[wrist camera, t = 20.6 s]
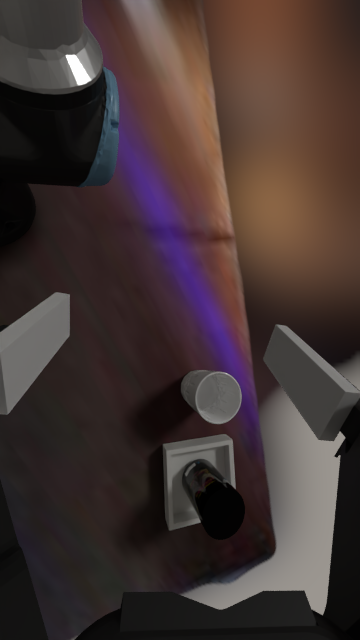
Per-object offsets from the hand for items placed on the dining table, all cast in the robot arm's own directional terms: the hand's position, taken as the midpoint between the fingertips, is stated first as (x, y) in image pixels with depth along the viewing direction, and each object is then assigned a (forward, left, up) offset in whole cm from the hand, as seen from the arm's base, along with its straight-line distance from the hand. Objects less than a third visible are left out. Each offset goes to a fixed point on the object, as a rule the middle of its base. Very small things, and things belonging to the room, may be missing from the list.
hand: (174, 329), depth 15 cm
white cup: (+12, -10, -31) cm, 34 cm away
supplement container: (+11, -25, -30) cm, 41 cm away
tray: (+11, -25, -31) cm, 41 cm away
